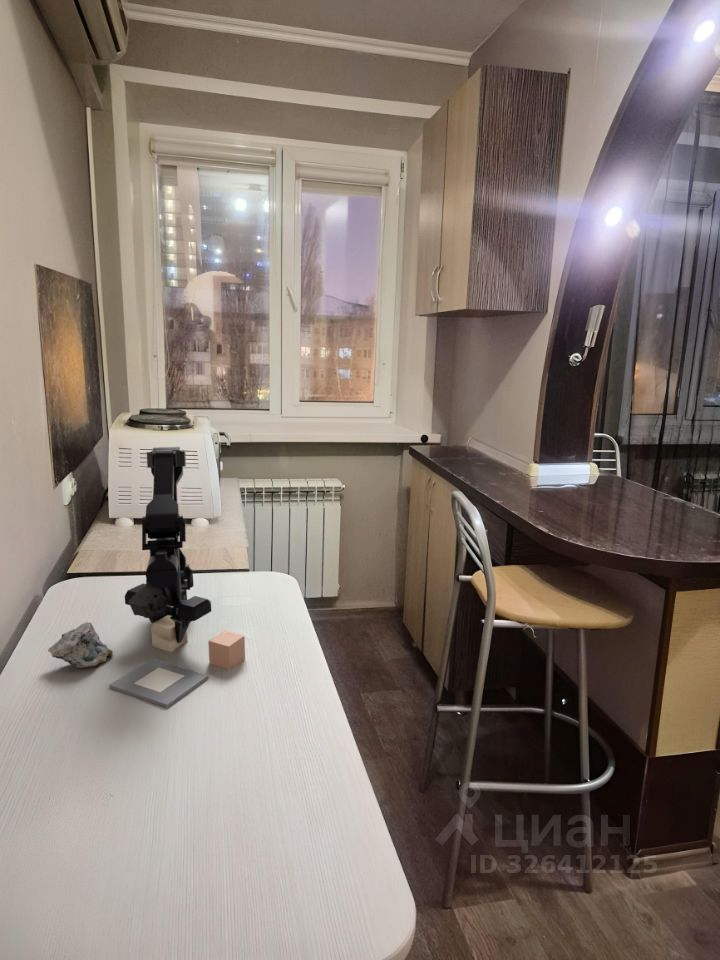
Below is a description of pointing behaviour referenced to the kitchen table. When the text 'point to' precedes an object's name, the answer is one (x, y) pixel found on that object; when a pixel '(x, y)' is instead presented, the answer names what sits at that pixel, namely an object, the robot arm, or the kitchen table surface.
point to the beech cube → (165, 634)
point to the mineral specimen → (81, 647)
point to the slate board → (159, 682)
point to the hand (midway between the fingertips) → (169, 639)
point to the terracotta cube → (226, 649)
